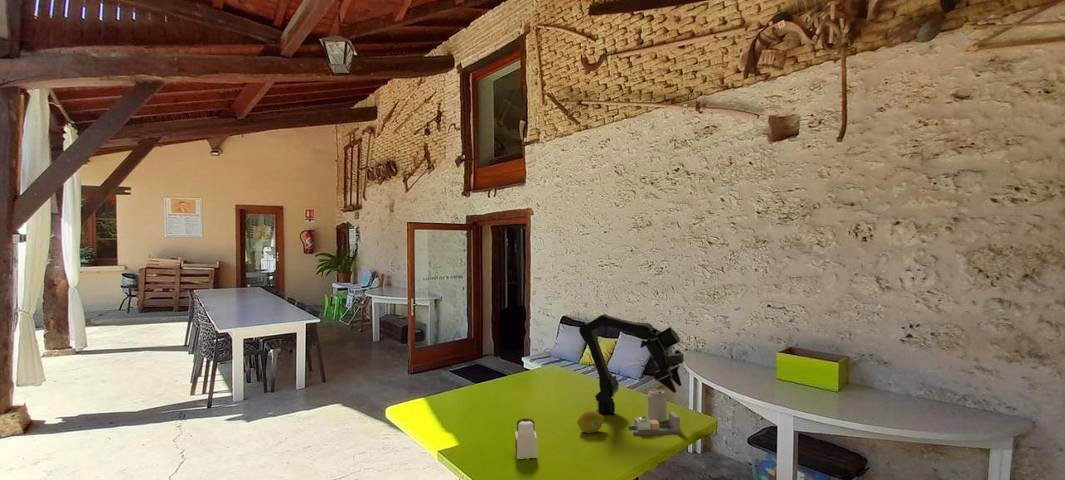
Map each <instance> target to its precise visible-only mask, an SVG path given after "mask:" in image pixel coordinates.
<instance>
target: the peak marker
mask: <svg viewBox="0 0 1065 480" xmlns="http://www.w3.org/2000/svg"><path fill="white" fill-rule="evenodd" d="M650 421H651V430H660V426H659V424H660V423H659V422H658V421H657V420H650Z"/></svg>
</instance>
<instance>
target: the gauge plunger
mask: <svg viewBox="0 0 1065 480" xmlns="http://www.w3.org/2000/svg"><path fill="white" fill-rule="evenodd" d="M633 418H634V419H633V420H634V424H633V425H634V429H635V431H651V421H650V420H649V419H648V416H641V415H640V416H637V417H633Z"/></svg>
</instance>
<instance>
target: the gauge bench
mask: <svg viewBox="0 0 1065 480" xmlns="http://www.w3.org/2000/svg"><path fill="white" fill-rule="evenodd" d="M680 419H681V418H680V416H679V415H678V414H677V413H676V412H675V411H673V410H671V411H668V423H662V424H661V423H659V426H660V430H651V431H635V429H634V424H633V425H628V430H629V431H630V433H631V434H632V436H645V435H646V436H648V435H667V434H681V428H680V427H681V422H680V421H681V420H680Z"/></svg>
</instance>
